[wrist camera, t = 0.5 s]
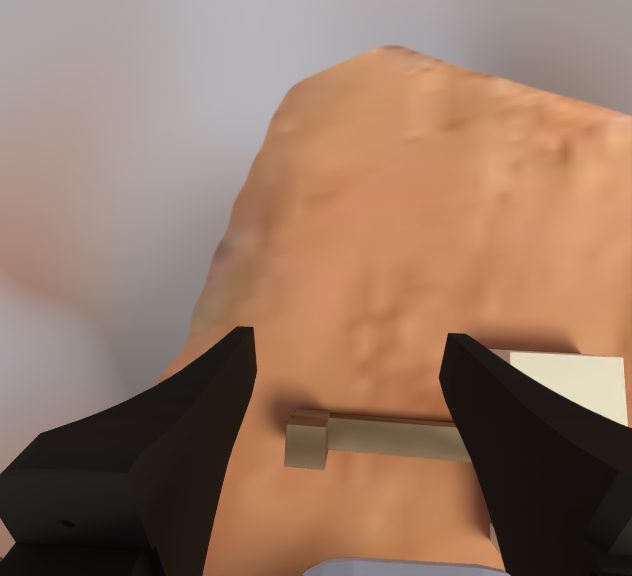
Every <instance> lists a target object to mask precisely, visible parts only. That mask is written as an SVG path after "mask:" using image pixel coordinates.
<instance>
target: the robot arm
mask: <svg viewBox="0 0 632 576" xmlns="http://www.w3.org/2000/svg"><path fill="white" fill-rule="evenodd" d="M256 373H257V365H256V352H255V340H254V328H253V327H239V326H237V327H236V328H235V329H233V330H232V331H231V332H230V333H229V334H227V335H226V336H225V337H224V338H223V339H221V340H220V341H219V342H218V343H217V344H215V345H214V346H213V347H212V348H210V349H209V350H208V351H207V352H205V353H204V354H203V355H201V356H200V357H199V358H197V359H196V360H195V361H193V362H192V363H190V364H189V365H188V366H186V367H185V368H184V369H182V370H181V371H179V372H178V373H176V374H174V375H173V376H171V377H170V378H168V379H166V380H165V381H163V382H161V383H159V384H158V385H156V386H154V387H152V388H151V389H149V390H146V391H144V392H143V393H141V394H139V395H137V396H135V397H133V398H131V399H129V400H127V401H125V402H123V403H120V404H118V405H116V406H113V407H111V408H109V409H107V410H104V411H102V412H99V413H97V414H94V415H92V416H89V417H86V418H84V419H81V420H78V421H75V422H72V423H70V424H67V425H64V426H61V427H58V428H55V429H52V430H49V431H46V432H43V433H40V434H39V435H38V436H37V437H36V438H35V439H34V441H32V442H31V443H30V444H29V446H27V447H26V448H25V449H24V450H23V452H22V453H20V454H19V456H18V457H17V458H16V459H15V460H14V461H13V462H12V463H11V464H10V465H9V466H8V467H7V468H6V469H5V470H4V471H3V472H2V473H1V474H0V518H1V520H2V521H3V523H4V524H5V526H6V528H7V529H8V531H9V532H10V534H11V536H12V537H13V539H14V540H15V542H16V543H15V544H14V546H13V547H12V548H11V549H10V551H9V552H8V553H7V555H6V556H5V557H4V559H3V558H2V557H0V576H202V575H203V570H204V565H205V560H206V555H207V550H208V546H209V541H210V537H211V532H212V527H213V523H214V518H215V514H216V510H217V506H218V501H219V497H220V493H221V489H222V485H223V481H224V477H225V473H226V469H227V465H228V461H229V458H230V455H231V452H232V448H233V446H234V443H235V440H236V437H237V435H238V432H239V429H240V426H241V424H242V421H243V418H244V415H245V413H246V410H247V407H248V404H249V401H250V399H251V396H252V392H253V387H254V383H255V378H256ZM439 380H440V384H441V388H442V391H443V395H444V398H445V401H446V404H447V406H448V409H449V411H450V413H451V416H452V418H453V420H454V423H455V425H456V427H457V429H458V432H459V434H460V436H461V438H462V440H463V443H464V445H465V447H466V449H467V452H468V454H469V456H470V458H471V461H472V463H473V466H474V468H475V471H476V474H477V477H478V480H479V483H480V486H481V489H482V492H483V495H484V498H485V501H486V504H487V508H488V511H489V514H490V518H491V521H492V524H493V527H494V531H495V534H496V538H497V541H498V545H499V549H500V552H501V556H502V559H503V563H504V567H505V570H506V572H505V571H503V570H501V569H496V568H492V567H487V566H483V565H478V564H462V563H444V562H426V561H409V560H391V559H373V558H356V557H350V558H339V559H329V560H325V561H323V562H321V563H319V564H317V565H315V566H313V567H311V568H309V569H308V570H307V571H306V572H305V573H303V575H302V576H632V428H629V427H627V426H625V425H622V424H620V423H617V422H615V421H613V420H611V419H609V418H606V417H604V416H602V415H600V414H598V413H596V412H593V411H591V410H589V409H587V408H585V407H583V406H581V405H579V404H577V403H575V402H573V401H571V400H569V399H567V398H566V397H564V396H562V395H560V394H558V393H556V392H554V391H553V390H551V389H549V388H547V387H546V386H544V385H542V384H541V383H539V382H537V381H536V380H534V379H532V378H531V377H529V376H528V375H526V374H524V373H523V372H521V371H520V370H518V369H517V368H515V367H514V366H512V365H511V364H509V363H508V362H506V361H505V360H503V359H502V358H500V357H499V356H498V355H496V354H495V353H493V352H492V351H490V350H489V349H488V348H486V347H485V346H483V345H482V344H480V343H479V342H477V341H476V340H474V339H473V338H471V337H470V336H468V335H466V334H459V333H448V336H447V341H446V346H445V350H444V355H443V360H442V365H441V370H440V374H439Z"/></svg>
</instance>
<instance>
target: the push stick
mask: <svg viewBox="0 0 632 576" xmlns="http://www.w3.org/2000/svg"><path fill="white" fill-rule="evenodd" d="M328 450H338V451H350V452H361V453H373V454H384V455H396V456H407V457H418V458H430V459H441V460H453V461H464V462H472V461H471V458H470V456H469V454H468V452H467V449H466V447H465V445H464V443H463V440H462V438H461V436H460V434H459V432H458V429H457V427H456V425H455V423H451V422H438V421H425V420H411V419H398V418H385V417H371V416H358V415H345V414H331V413H330V411H324V410H311V409H297V410H296V411H295V413H294V414H293V416H292V417H291V419H290V420H289V422H288V423H287V425H286V443H285V461H284V466H286V467H297V468H307V469H318V470H324V469H325V464H326V459H327V454H328Z"/></svg>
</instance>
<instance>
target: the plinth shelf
mask: <svg viewBox="0 0 632 576" xmlns="http://www.w3.org/2000/svg"><path fill="white" fill-rule="evenodd" d="M489 350H490V351H492V352H493V353H495V354H496V355H498V356H499V357H500V358H502V359H503V360H505V361H506V362H508V363H509V364H511V365H512V366H514V367H515V368H517V369H518V370H520V371H521V372H523V373H524V374H526V375H528V376H529V377H531V378H532V379H534V380H536V381H537V382H539V383H541V384H542V385H544V386H546V387H547V388H549V389H551V390H553V391H554V392H556V393H558V394H560V395H562V396H564V397H566V398H567V399H569V400H571V401H573V402H575V403H577V404H579V405H581V406H583V407H585V408H587V409H589V410H591V411H593V412H596V413H598V414H600V415H602V416H604V417H606V418H609V419H611V420H613V421H615V422H617V423H620V424H622V425H625V426H627V427H628V424H627V410H626V395H625V381H624V366H623V358H621V357H610V356H600V355H589V354H577V353H557V352H537V351H518V350H498V349H489ZM490 540H491V542H492V543H493V545H494V546H495V548H496V549H497V551H498V552H499V554H500V555H501V552H500V549H499V545H498V541H497V538H496V534H495V531H494V527H493V524H492V523H490ZM501 557H502V556H501Z"/></svg>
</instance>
